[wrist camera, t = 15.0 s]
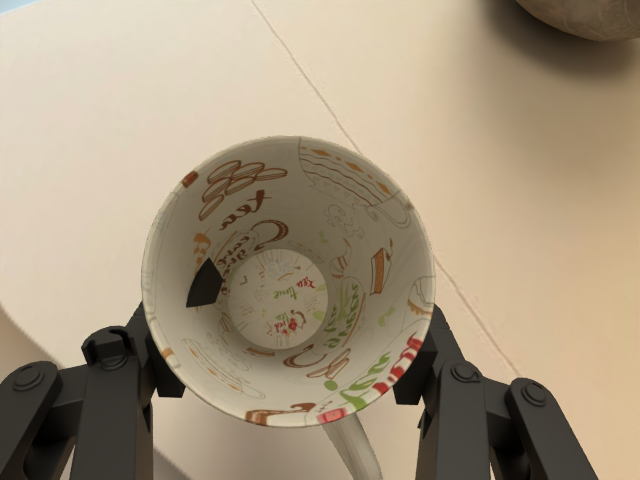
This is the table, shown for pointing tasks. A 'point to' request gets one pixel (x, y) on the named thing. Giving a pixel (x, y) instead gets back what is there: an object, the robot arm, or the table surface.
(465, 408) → the robot arm
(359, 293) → the mug
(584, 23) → the bowl
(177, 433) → the table surface
